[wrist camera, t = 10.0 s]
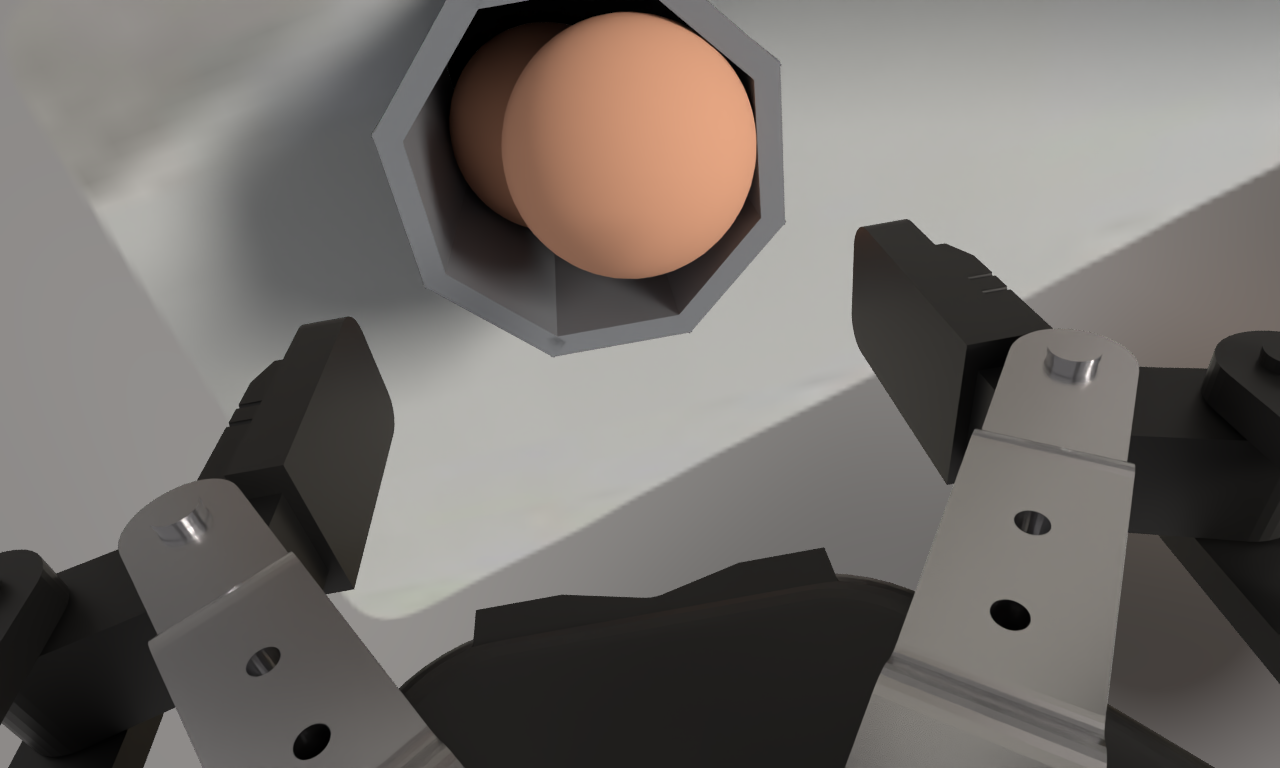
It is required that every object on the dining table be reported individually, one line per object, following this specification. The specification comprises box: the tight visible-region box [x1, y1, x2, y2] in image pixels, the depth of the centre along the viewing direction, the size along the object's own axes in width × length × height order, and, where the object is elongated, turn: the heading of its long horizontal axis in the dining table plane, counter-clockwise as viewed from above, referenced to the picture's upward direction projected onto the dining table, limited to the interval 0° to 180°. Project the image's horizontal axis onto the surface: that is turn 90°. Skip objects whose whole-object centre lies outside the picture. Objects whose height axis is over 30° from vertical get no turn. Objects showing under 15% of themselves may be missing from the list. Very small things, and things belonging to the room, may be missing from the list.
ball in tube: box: [449, 22, 572, 228], centre depth 23 cm, size 6×6×6 cm
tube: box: [372, 0, 786, 357], centre depth 21 cm, size 9×9×9 cm
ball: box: [501, 12, 756, 279], centre depth 18 cm, size 6×6×6 cm
